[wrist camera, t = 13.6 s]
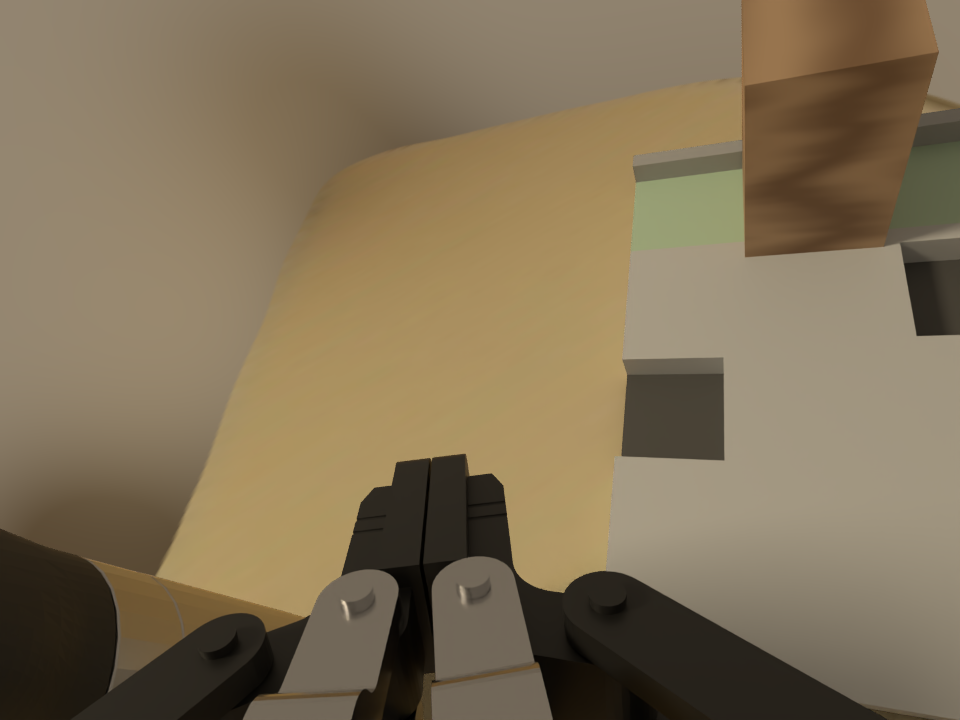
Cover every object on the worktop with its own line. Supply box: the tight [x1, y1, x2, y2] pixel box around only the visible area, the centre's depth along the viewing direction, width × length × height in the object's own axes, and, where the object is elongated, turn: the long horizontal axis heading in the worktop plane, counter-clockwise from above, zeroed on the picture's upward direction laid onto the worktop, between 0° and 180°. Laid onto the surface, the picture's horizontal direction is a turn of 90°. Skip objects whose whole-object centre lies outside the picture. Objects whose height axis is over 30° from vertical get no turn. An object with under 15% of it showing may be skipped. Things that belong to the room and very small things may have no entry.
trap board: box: [606, 108, 960, 720], centre depth 32 cm, size 20×31×4 cm, turn 169°
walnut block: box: [742, 0, 939, 257], centre depth 32 cm, size 7×7×12 cm
